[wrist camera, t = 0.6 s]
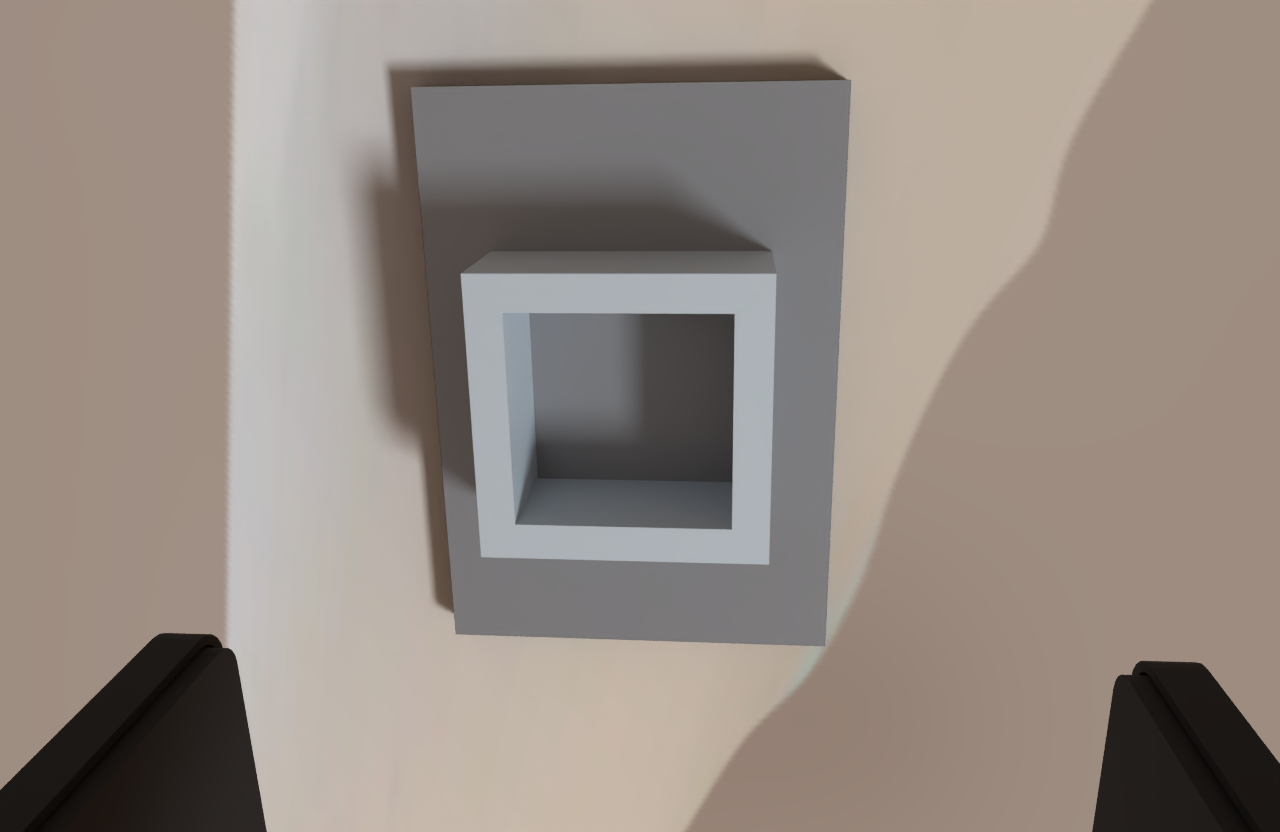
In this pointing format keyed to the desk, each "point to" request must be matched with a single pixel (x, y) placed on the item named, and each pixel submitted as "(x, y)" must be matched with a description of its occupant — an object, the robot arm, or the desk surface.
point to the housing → (636, 353)
